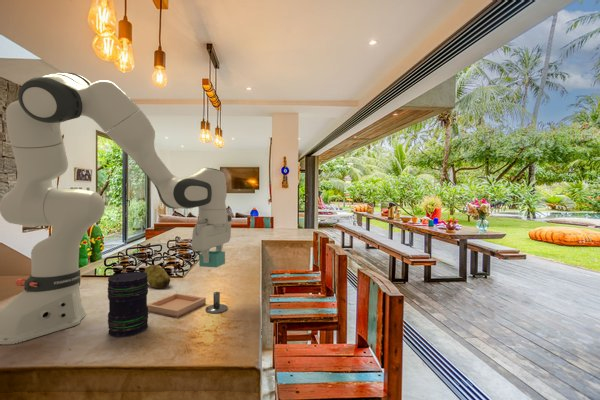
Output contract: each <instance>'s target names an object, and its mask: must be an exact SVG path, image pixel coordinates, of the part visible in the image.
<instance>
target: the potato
mask: <svg viewBox="0 0 600 400" xmlns="http://www.w3.org/2000/svg"><path fill="white" fill-rule="evenodd" d="M143 272H145V273H147V274H148V277H147V279H148V286H149V287H151V288H154V289H164V288H167V287H168V286H169V285H170V283H171V278H170V276H169V273H167V270H165V269H164V268H162V267H161V266H160V265H157V264H152V265H148V266H147V267H146V268H145V269H144V271H143Z"/></svg>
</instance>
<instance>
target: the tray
mask: <svg viewBox="0 0 600 400" xmlns="http://www.w3.org/2000/svg"><path fill="white" fill-rule="evenodd" d="M206 300H207V299H206V297H201V296H197V295H196V296H195V295H190V294H184V293H178V292H175V293H173V294H170V295H167V296H164V297H163V298H160V299H157V300H154V301H152V302H149V303H147V307H148V313H151V314H157V315H160V316H166V317H171V318H174V319H178V318H180V317H182V316H184V315H186V314H189V313H190V312H193V311H194V310H196V309H198V308H200V307H203V306H205V305H206V302H207V301H206Z"/></svg>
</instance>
